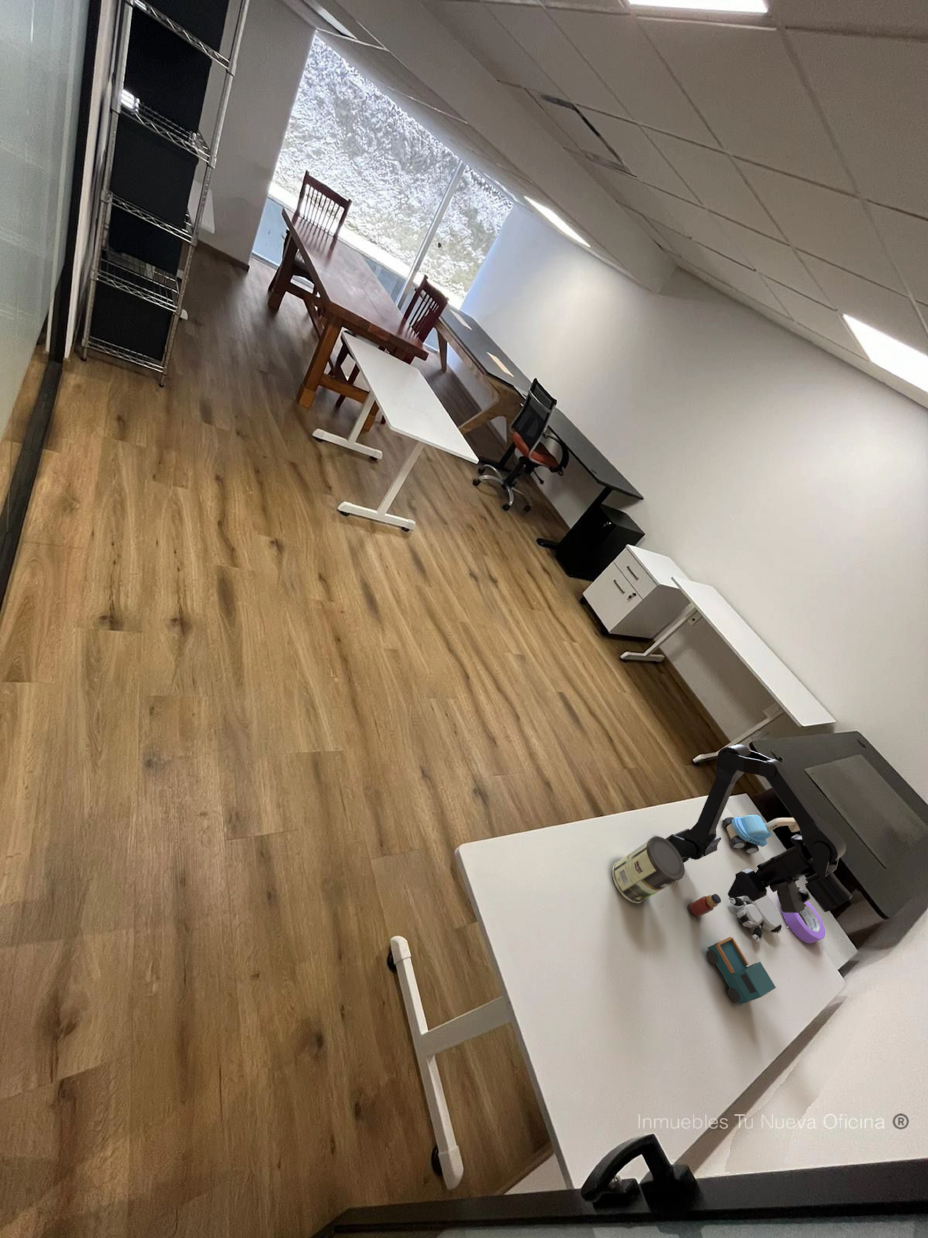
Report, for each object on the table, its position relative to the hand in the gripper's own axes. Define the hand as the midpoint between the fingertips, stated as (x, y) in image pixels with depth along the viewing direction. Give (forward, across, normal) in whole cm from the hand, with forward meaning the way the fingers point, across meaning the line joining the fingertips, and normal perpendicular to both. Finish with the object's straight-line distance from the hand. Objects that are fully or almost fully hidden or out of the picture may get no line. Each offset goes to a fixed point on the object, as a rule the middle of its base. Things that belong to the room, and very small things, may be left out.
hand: (738, 891), depth 131 cm
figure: (+13, -3, +1) cm, 13 cm away
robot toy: (+13, +18, -6) cm, 23 cm away
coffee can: (+13, -20, +12) cm, 27 cm away
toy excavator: (+13, +38, +12) cm, 42 cm away
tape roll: (+13, +38, -12) cm, 42 cm away
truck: (+13, -4, -13) cm, 19 cm away
